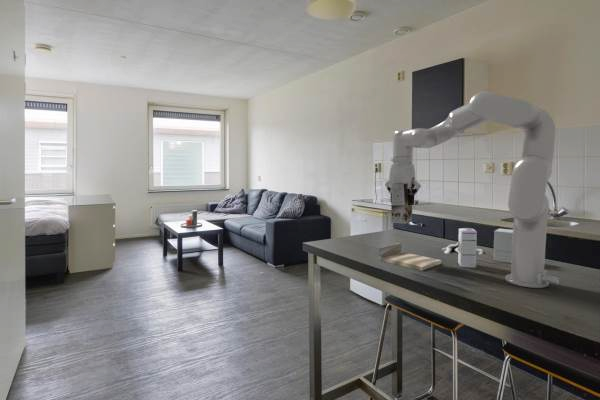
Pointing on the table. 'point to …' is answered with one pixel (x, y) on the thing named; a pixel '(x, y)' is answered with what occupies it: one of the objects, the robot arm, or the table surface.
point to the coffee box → (400, 204)
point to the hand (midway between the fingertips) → (402, 203)
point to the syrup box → (467, 247)
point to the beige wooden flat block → (405, 258)
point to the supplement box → (503, 245)
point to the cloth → (455, 248)
